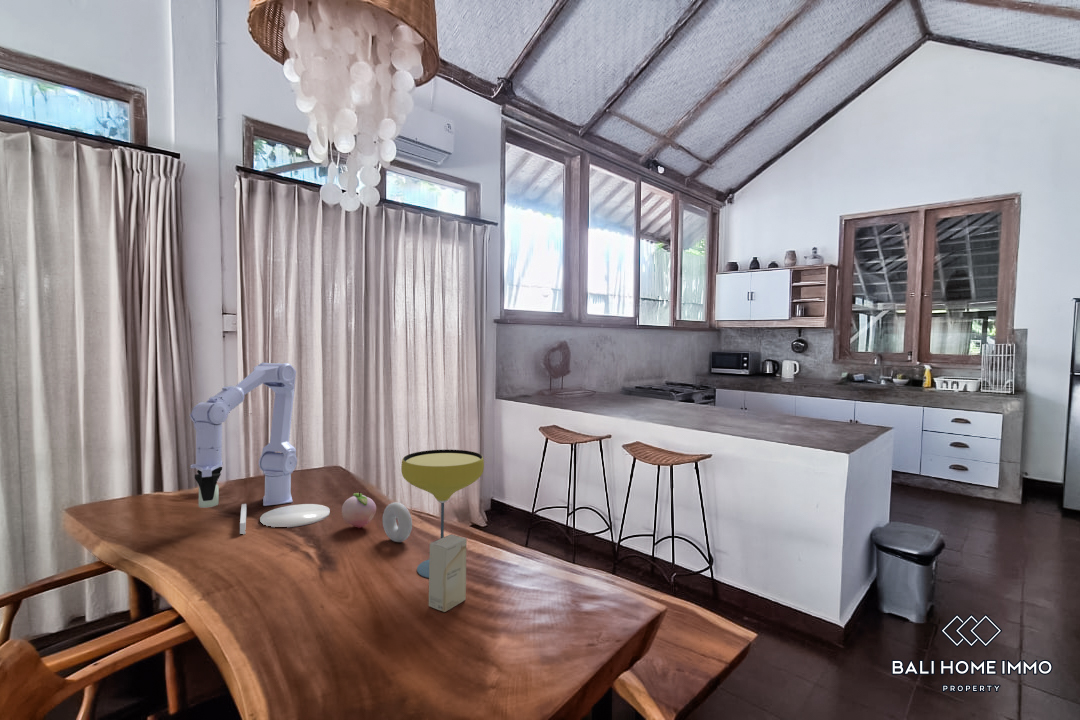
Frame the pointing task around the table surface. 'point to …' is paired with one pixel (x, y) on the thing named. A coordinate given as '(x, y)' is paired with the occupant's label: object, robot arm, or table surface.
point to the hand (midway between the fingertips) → (208, 497)
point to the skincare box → (447, 572)
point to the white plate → (295, 515)
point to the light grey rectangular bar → (243, 519)
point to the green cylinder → (211, 502)
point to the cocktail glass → (441, 477)
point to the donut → (404, 522)
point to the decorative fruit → (358, 510)
